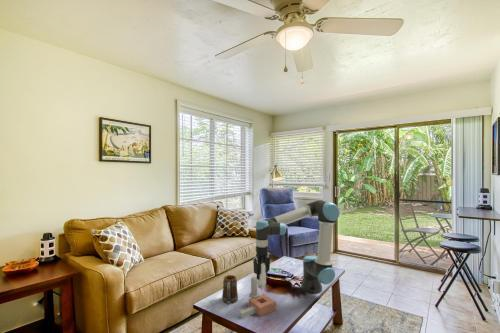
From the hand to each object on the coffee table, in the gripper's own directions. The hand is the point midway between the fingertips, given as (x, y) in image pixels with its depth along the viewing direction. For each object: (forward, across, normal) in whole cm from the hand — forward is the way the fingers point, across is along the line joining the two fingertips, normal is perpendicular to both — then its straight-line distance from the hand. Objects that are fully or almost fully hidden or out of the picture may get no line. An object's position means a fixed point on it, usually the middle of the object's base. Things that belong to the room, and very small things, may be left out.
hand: (261, 283), depth 161 cm
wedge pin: (+3, 0, 0) cm, 3 cm away
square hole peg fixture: (+16, +5, -2) cm, 17 cm away
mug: (+16, +12, -19) cm, 27 cm away
